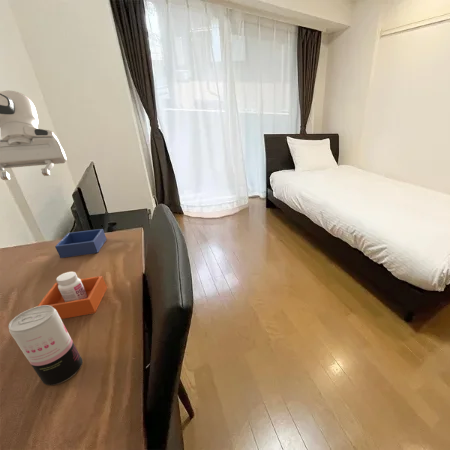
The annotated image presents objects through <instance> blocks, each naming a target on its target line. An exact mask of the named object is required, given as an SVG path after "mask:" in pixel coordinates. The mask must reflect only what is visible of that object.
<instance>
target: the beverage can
mask: <svg viewBox="0 0 450 450" xmlns="http://www.w3.org/2000/svg"><path fill="white" fill-rule="evenodd" d="M8 333H9V334H10V335H11V337H12V338H13V340H14V342H15V343H16V345H17V346H18V347H19V349H20V350H21V352H22V353H23V355H24V357H25V358H26V359H27V361H28V362H29V364H30V366H31V367H32V368H33V370H34V371H35V373H36V374H37V376H38V378H39V379H40V381H41V382H42V383H43V384H44V385H45V386H55V385H60V384H62V383H64V382H67V381H68V380H70V379H71V378H73V377H74V376H75V375H76V374H77V373H78V371H80V369H81V367H82V365H83V358H82V356H81V354H80V352H79V350H78V349H77V347H76V344H75V343H74V341H73V338H72V337H71V335H70V333H69V332H68V330H67V327H66V326H65V324H64V322H63V319H61V318H60V316H59V314H58V312H57V311H56V309H54V308H53V307H52V306H49V305H43V306H38V305H37V306H35V307H31V308H28V309H26V310H24V311H22V312H20V313H19V314H17V315H16V316H15V317H14V318H12V319H11V320H10V321H9V323H8Z"/></svg>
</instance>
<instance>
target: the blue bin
mask: <svg viewBox="0 0 450 450" xmlns="http://www.w3.org/2000/svg"><path fill="white" fill-rule="evenodd" d="M106 241H107V236H106V234H105V231H104V229H103V228H98V229H90V230H81V231H73V232H67V233H66V234H65V235H64V236H63V238H62V239H61V240H59V242H57V244H56V245H55V246H54V247H55V250H56V252H57V254H58V256H59V259H62V258H71V257H77V256H85V255H92V254H98V253H99V252H100V250H101V249H102V247H103V246H104V245H105V243H106Z"/></svg>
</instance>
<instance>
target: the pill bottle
mask: <svg viewBox="0 0 450 450" xmlns="http://www.w3.org/2000/svg"><path fill="white" fill-rule="evenodd" d="M80 279H81V278H80V277H78V275H77V273H76V272H75V271H67V272H63V273H61V274H59V275H58V276H57V277H56V279H55V281H56V283H58V284H59V285H58V289H59V291H60V293H61V295H62V297H63V299H64V301H65V302H69V301H75V300H81V299H86V298H88V296H87V293H86V291H85V289H84V286H83V284H82V282H81V280H80Z"/></svg>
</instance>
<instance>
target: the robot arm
mask: <svg viewBox="0 0 450 450" xmlns="http://www.w3.org/2000/svg"><path fill="white" fill-rule="evenodd" d="M39 124H40V123H39V117H38V112H37V107H36V106H35V104H34V103H33V101H32V100H31V99H30V98H29V97H28V96H27V95H25V94H23V93H21V92H19V91H15V90H0V136H1V137H0V138H1V139H0V179H1V180H2V181H6V180H11V174H10V173H9V172H8V171H5V169H12V168H13V169H15V168H23V167H24V168H25V167H35V166H45V167H43V168H41V169H40V170H41V174H42V176H44V177H49V176H51V171H52V170H53V168H54V165H60V164H65V163H66V162H67V160H68V159H67V158H68V157H67V155H66V152H65V150H64V148H63V146H62V145H61V142H60V140H59V139H58V137H57V135H56V134H55V133H54V132H53V131H52V130H49V129H44V128H39Z"/></svg>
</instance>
